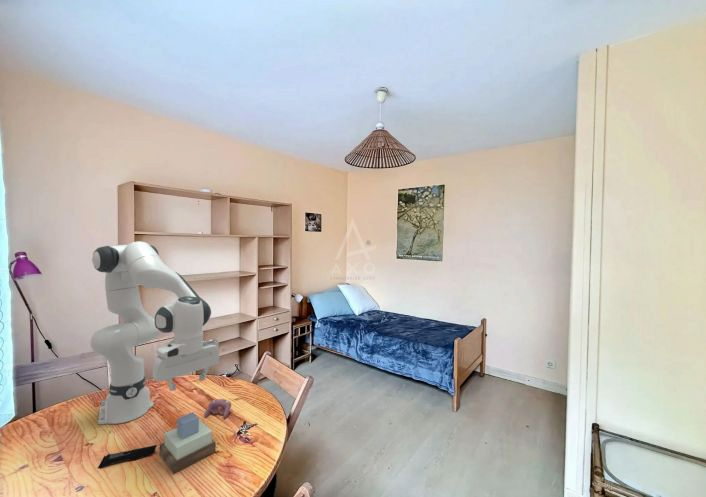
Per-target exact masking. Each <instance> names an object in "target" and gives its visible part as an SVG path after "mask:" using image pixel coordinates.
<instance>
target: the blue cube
mask: <svg viewBox="0 0 706 497" xmlns="http://www.w3.org/2000/svg"><path fill="white" fill-rule="evenodd" d="M199 420H200V417H199V416H198V415H196V414H195V412H193V411H192V412H190V413H187V414H184V415H183V416H179V417H177V418H176V428H177V434H178V435H179V436H180V437H181V438H182V439H185V438H187V437H189V436H191V435H193V434H196V433H198V432H199Z"/></svg>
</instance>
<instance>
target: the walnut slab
mask: <svg viewBox="0 0 706 497" xmlns="http://www.w3.org/2000/svg"><path fill="white" fill-rule="evenodd" d="M215 453H216V441H215V440H214V439H213V438H212V443H210V444H208V445H206V446H205V447H203V448H201V449H199V450H197V451H195V452H193V453H191V454H189V455H187V456H185V457H183V458H181V459H179V460H176V459H175V458H174V456H173V455H172V454H171V453H170V451H169V450H168V449H167V448H166V446H165V445H164V442H161V444H160V443H159V456H160V457H161V459H162V461H163V462H164V463H165V465H166V466H167V467H168V469H169V470H170V472H171V473H172V474H173V475H176V474H177V473H179V472H181V471H183V470H185V469H187V468H189V467H190V466H193V465H194V464H196V463H198V462H201V461H202V460H204V459H206V458H208V457H210V456H211V455H213V454H215Z"/></svg>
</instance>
